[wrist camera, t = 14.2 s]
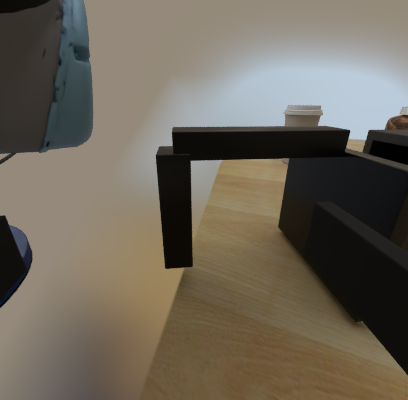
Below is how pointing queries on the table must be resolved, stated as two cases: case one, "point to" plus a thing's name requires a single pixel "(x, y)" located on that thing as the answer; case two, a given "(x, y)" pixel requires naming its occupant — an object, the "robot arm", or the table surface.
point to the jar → (398, 121)
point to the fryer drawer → (286, 183)
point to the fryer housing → (388, 145)
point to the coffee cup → (302, 117)
